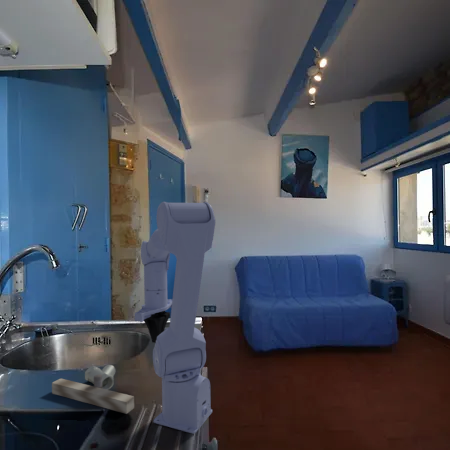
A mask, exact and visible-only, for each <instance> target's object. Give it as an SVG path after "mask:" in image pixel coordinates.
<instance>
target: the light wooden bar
mask: <svg viewBox="0 0 450 450" xmlns="http://www.w3.org/2000/svg"><path fill="white" fill-rule="evenodd" d="M51 394H52V395H57V396H61V397H63V398H68V399H71V400H75V401H78V402H82V403H86V404H89V405H94V406H97V407H100V408H104V409H108V410H111V411H115V412H118V413H122V414H125V415H127V414H129V413H130V412H131V411H133V409H135V396H134V395H129V394H127V393H122V392H117V391H114V390H111V389H109V390H106V389H102V375H95V376H94V384H93V385H89V384H86V383H81V382H78V381H77V382H76V381H74V380H69V379H64V378H61V377H60V378H59V379H57V380H55V381H53V382H51Z"/></svg>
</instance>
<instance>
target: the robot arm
mask: <svg viewBox="0 0 450 450" xmlns="http://www.w3.org/2000/svg"><path fill="white" fill-rule="evenodd" d="M156 226H157V228H156V229H155V230H154V231H153V232H152V234H151V235H150V238H149V240H148V241H146V240H144V241H142V242H141V245H140V259H141V263H142V265H143V280H144V281H143V286H144V287H143V288H144V290H143V291H144V295H143V296H144V304H141V308H140V309H139V310H138V311H137V312H134V321H135V322H139V323H142V322H143V323H145V326H146V327H147V329H148V332H149V335H150V336H149V337H150V339H151V342H152V344H153V343H155V344H154V347H153V349H152V363H153V369H154V372H155V375H157V376H158V377H159V378H161V399H162V401H161V403H162V407H161V408H162V412H160V413H159V414H158V415H157V416H156V417H155V418H154V419H153V423H154V424H157V425H160V426H161V425H162V426H164V427H169V428H172V429H174V430H179V431H182V432H186V433H190V434H196V433H197V432H198V431H199V429H201V427H202V426H203V425H204V423H205V422H206V421H207V419H208V418H209V417H210V416H211V414H212V413H213V409H212V407H211V399H212V398H211V395H212V394H211V382H210V379H209V378H207V377H205V376H203V375H202V374H201V369H203V368H204V367H205V364H206V361H207V351H206V350H207V349H206V344H207V342H206V339H205V337H204V335H203V333H202V331H201V330H200V329H198V328H197V327H195V326H196V320H197V318H196V317H197V311H198V305H199V304H198V303H199V296H200V291H201V290H200V289H201V282H202V275H203V267H204V262H205V255H206V253H207V252H208V251H209V250H211V248H212V246H213V240H214V237H215V229H216V228H215V227H216V216H215V212H214V208H213V206H212V205H211V204H210V203H209V202H208V201H207V202H206V201H203V202H167V201H162V202H160V203H159V204H158V207H157V210H156ZM171 254H172V255H174V256H175V259H176V262H175V263H176V264H175V273H174V282H173V290H172V292H173V293H172V298H169V299H168V270H169V269H170V267H169V266H170V265H169V264H170V259H171V258H170V257H171ZM169 309H171V310H170V311H167V310H169ZM169 319H170V320H169ZM168 321H169V325H168V327H167V328H166V325H167V322H168Z"/></svg>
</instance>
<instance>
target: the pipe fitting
mask: <svg viewBox="0 0 450 450" xmlns="http://www.w3.org/2000/svg"><path fill="white" fill-rule="evenodd" d="M95 375H102V389H106V390H111V388H112V387H113V386H114V381H115V377H114V376H115V375H116V367H115V366H114V365H112V364H107V365H105V366H104V367H103V368H100V367H97V366H94V365H91V366H89V367H88V368H87V369H86V370H85V372H84V379H85V380H86V381H88V382H90V383H91V384H93V385H94V376H95Z"/></svg>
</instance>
